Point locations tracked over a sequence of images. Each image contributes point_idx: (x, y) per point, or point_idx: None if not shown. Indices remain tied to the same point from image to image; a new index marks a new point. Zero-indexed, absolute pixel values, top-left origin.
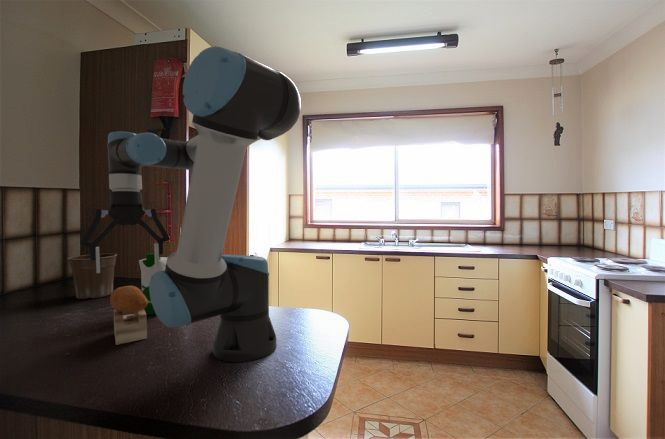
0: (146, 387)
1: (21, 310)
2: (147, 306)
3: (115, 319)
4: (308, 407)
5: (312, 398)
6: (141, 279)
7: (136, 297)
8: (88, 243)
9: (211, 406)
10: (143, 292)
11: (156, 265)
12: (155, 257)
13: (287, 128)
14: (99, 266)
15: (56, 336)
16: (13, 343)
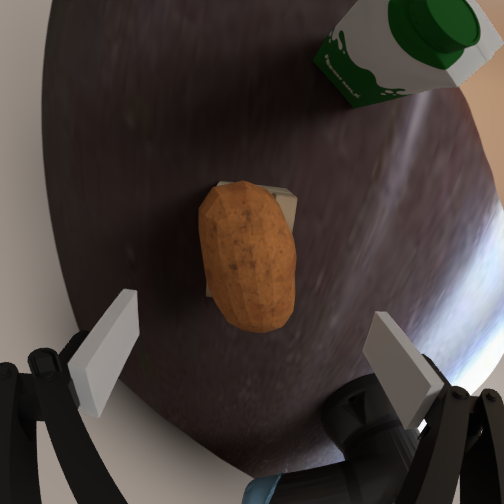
0: (227, 428)
1: None
2: (331, 73)
3: (206, 295)
4: None
5: None
6: (349, 13)
7: (260, 330)
8: (38, 413)
9: (266, 468)
10: (336, 51)
11: (365, 354)
12: (383, 365)
13: None
14: (129, 351)
15: (109, 114)
16: (50, 114)
